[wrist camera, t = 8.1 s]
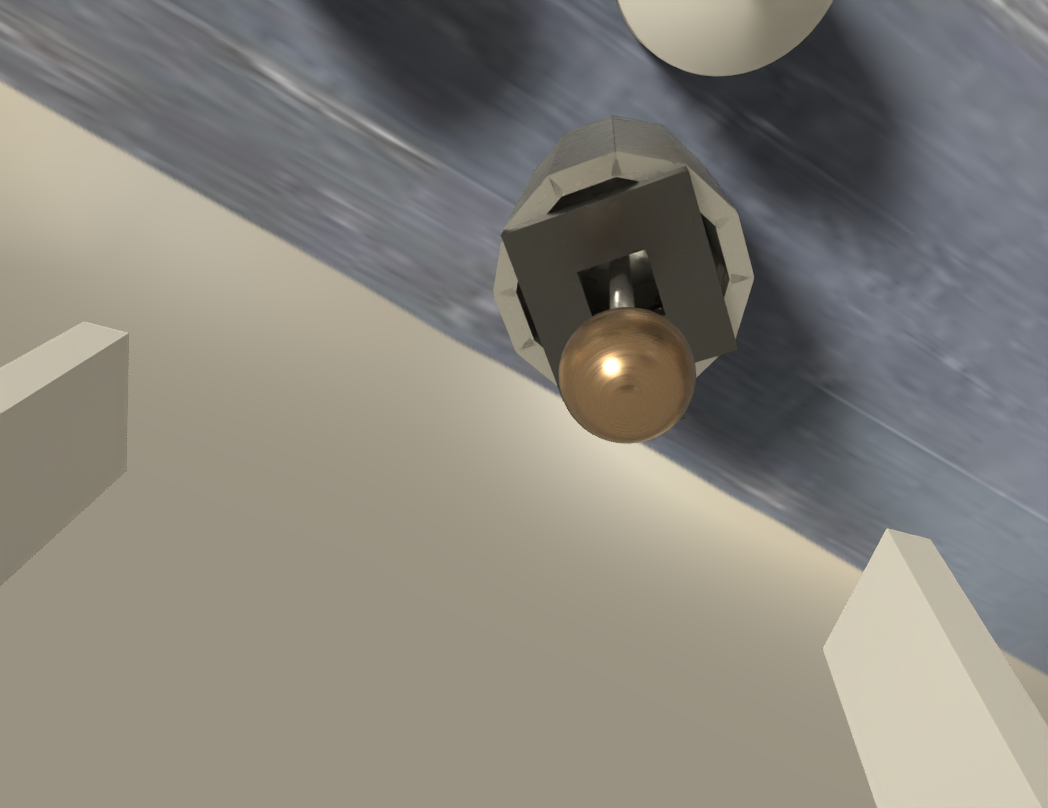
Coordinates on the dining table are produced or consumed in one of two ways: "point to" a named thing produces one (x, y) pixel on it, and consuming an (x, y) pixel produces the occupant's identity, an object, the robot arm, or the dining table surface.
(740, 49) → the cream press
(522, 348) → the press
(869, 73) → the dining table surface
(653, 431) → the plunger
